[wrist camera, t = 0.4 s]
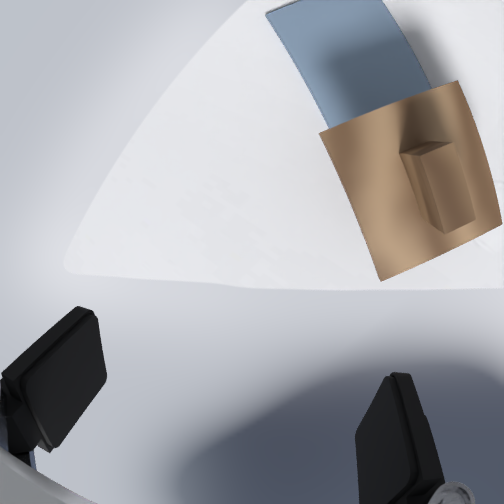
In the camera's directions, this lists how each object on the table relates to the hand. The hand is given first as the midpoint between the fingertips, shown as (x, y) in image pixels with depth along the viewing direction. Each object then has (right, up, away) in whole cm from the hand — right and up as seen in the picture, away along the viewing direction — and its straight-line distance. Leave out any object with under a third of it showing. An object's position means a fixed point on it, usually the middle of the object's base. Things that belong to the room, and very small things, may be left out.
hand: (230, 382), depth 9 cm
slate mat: (+12, +27, +21) cm, 36 cm away
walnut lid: (+15, +10, +15) cm, 24 cm away
